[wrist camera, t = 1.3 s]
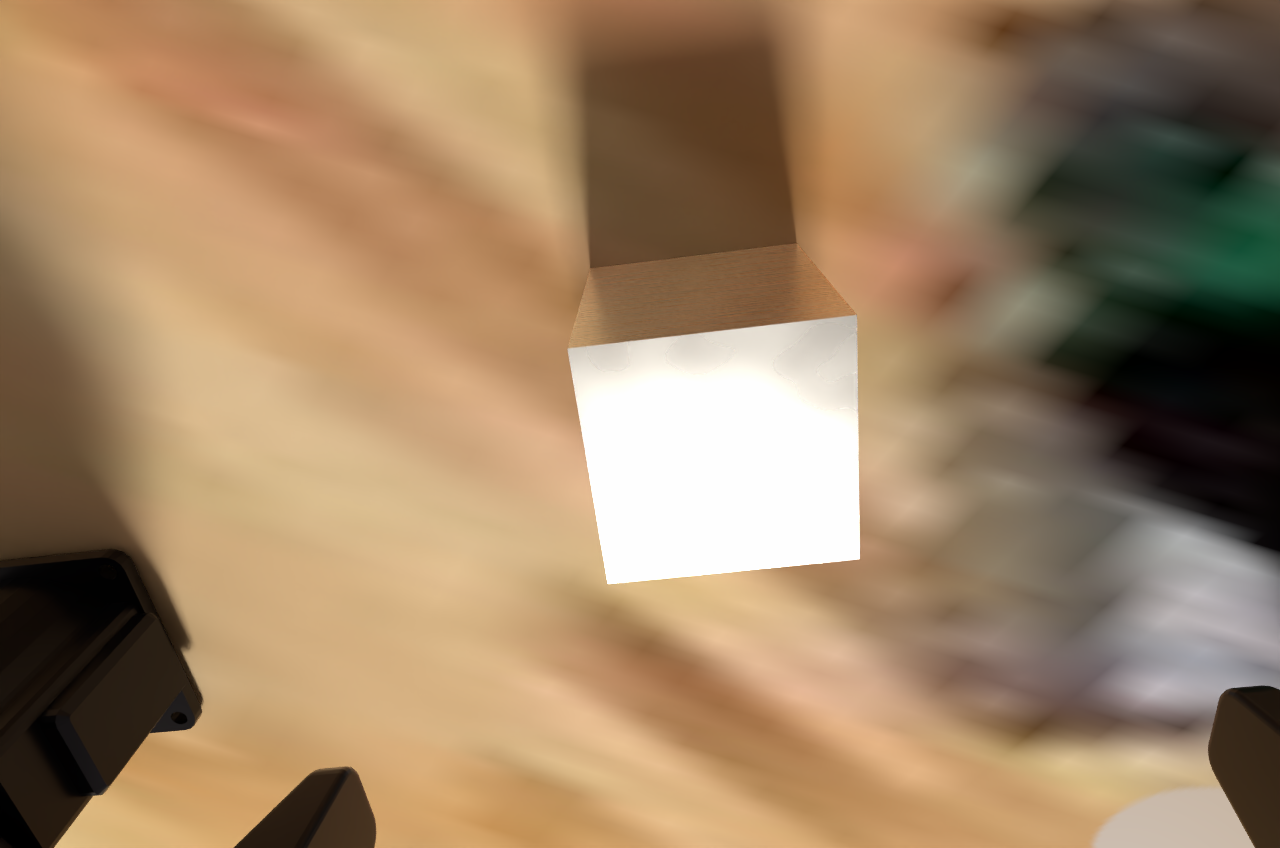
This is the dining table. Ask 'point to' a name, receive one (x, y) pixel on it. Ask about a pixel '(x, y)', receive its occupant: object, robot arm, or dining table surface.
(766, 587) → the dining table surface
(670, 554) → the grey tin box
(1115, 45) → the dining table surface
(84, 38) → the dining table surface
